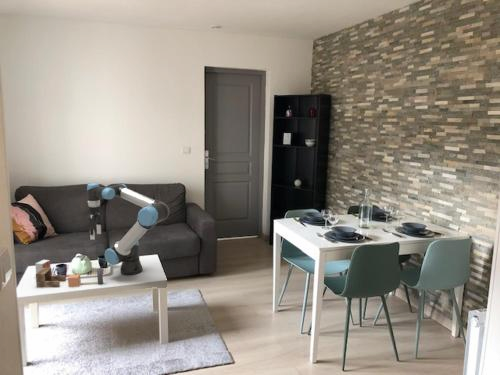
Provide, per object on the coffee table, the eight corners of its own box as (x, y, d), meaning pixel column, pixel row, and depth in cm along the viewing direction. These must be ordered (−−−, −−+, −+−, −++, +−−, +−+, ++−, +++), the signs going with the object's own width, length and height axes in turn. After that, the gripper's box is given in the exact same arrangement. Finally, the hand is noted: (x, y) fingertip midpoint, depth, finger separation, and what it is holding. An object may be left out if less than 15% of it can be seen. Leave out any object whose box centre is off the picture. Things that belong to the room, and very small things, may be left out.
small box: (43, 278, 278) (42, 263, 276) (36, 278, 279) (34, 263, 277) (51, 274, 286) (50, 260, 284) (44, 273, 287) (43, 259, 285)
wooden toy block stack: (66, 280, 275) (65, 267, 274) (58, 287, 265) (57, 274, 263) (44, 280, 275) (43, 267, 274) (36, 287, 264) (35, 274, 263)
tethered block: (103, 281, 274) (103, 267, 272) (102, 285, 268) (101, 270, 266) (71, 283, 271) (70, 268, 269) (68, 287, 265) (67, 272, 263)
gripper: (94, 202, 292) (96, 231, 295) (82, 210, 267) (83, 241, 271) (105, 202, 292) (106, 231, 296) (93, 210, 268) (95, 241, 271)
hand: (95, 236), depth 283 cm, fingers open, 13 cm apart
